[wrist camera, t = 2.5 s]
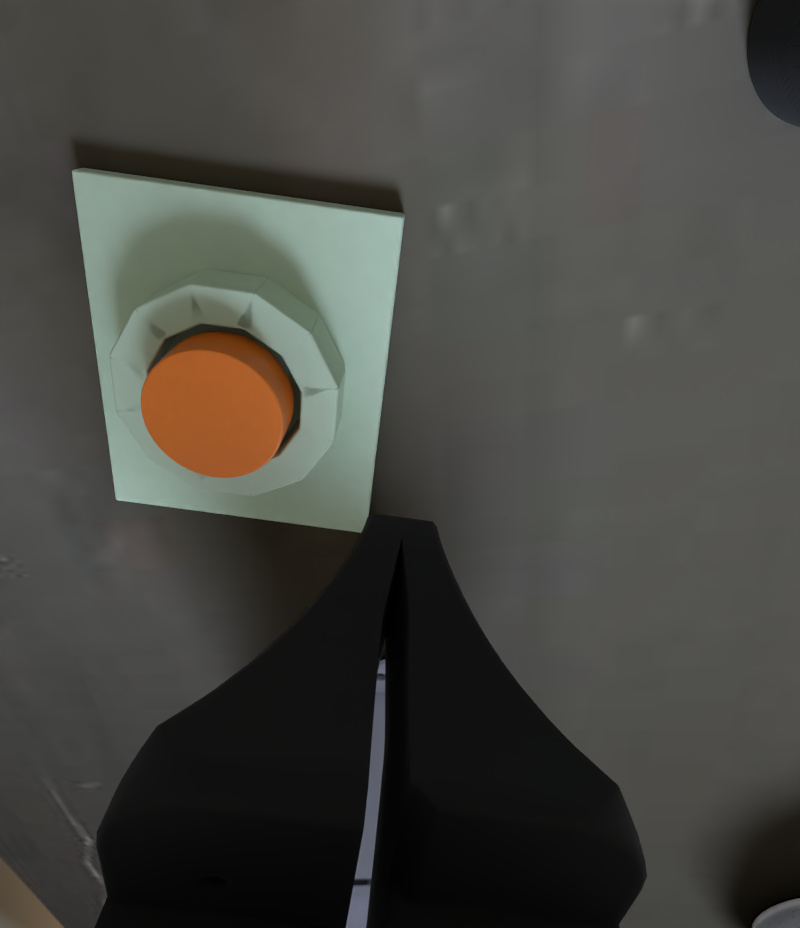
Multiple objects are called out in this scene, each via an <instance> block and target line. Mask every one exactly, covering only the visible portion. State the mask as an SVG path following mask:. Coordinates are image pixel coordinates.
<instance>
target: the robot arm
mask: <svg viewBox="0 0 800 928" xmlns="http://www.w3.org/2000/svg"><path fill="white" fill-rule="evenodd" d="M385 636H386V642H385V659H384V660H381V661H380V659H381V655H382V650H383V646H384V641H385ZM380 674H383V675H380ZM97 851H98V856H99V860H100V865H101V869H102V873H103V878H104V882H105V887H106V891H107V896H108V897H107V899H106V902H105V904H104V906H103V909H102V911H101V914H100V916H99V918H98V921H97V923H96V926H95V928H619V923H620V922H621V920H622V919H623V917H624V916H625V914H626V913H627V911H628V910H629V908H630V907H631V905H632V904H633V902H634V901H635V899H636V898H637V896H638V894H639V893H640V891H641V890H642V887H643V885H644V882H645V880H646V877H647V873H646V865H645V860H644V856H643V852H642V848H641V844H640V841H639V837H638V834H637V831H636V829H635V826H634V823H633V821H632V818H631V816H630V813H629V811H628V808H627V806H626V803H625V801H624V798H623V795H622V793H621V791H620V788H619V786H618V785H617V784H616V783H615V782H614V781H612V780H611V779H610V778H609V777H608V776H607V775H606V774H605V773H604V772H603V771H601V770H600V769H599V768H598V767H597V766H596V765H595V764H594V763H593V762H592V761H590V760H589V759H588V758H587V757H586V756H585V755H584V754H583V753H582V752H580V751H579V750H578V749H577V748H576V747H575V746H574V745H573V744H572V743H571V742H570V741H569V740H568V739H567V738H566V737H565V736H564V735H563V734H562V733H561V732H560V731H559V730H558V729H557V728H556V727H555V726H554V724H553V723H552V722H551V721H550V720H549V719H548V718H547V717H546V716H545V714H544V713H543V712H542V711H541V710H540V709H539V707H538V706H537V705H536V704H535V703H534V701H533V700H532V699H531V698H530V697H529V696H528V694H527V693H526V692H525V691H524V690H523V688H522V687H521V686H520V685H519V684H518V682H517V681H516V679H515V678H514V677H513V675H512V674H511V673H510V671H509V670H508V669H507V667H506V666H505V665H504V663H503V662H502V660H501V659H500V657H499V656H498V654H497V653H496V651H495V650H494V648H493V647H492V645H491V644H490V642H489V641H488V639H487V638H486V636H485V634H484V633H483V631H482V629H481V628H480V626H479V624H478V622H477V620H476V619H475V617H474V615H473V613H472V612H471V610H470V608H469V606H468V604H467V602H466V600H465V598H464V596H463V594H462V592H461V590H460V588H459V586H458V583H457V581H456V579H455V577H454V575H453V572H452V570H451V568H450V565H449V563H448V560H447V558H446V555H445V553H444V550H443V547H442V544H441V541H440V538H439V534H438V530H437V527H436V525H435V524H434V523H433V522H432V521H425V520H417V519H410V518H403V517H396V516H389V515H382V514H375V513H373V514H372V515H370V516H368V517H367V520H366V523H365V526H364V528H363V530H362V532H361V534H360V536H359V538H358V540H357V541H356V543H355V545H354V546H353V548H352V550H351V552H350V553H349V555H348V556H347V557H346V559H345V560H344V562H343V563H342V565H341V566H340V568H339V569H338V571H337V572H336V574H335V575H334V576H333V578H332V579H331V580H330V581H329V583H328V584H327V585H326V586H325V588H324V589H323V590H322V591H321V593H320V594H319V595H318V596H317V598H316V599H315V600H314V601H313V602H312V604H311V605H310V606H309V607H308V608H307V609H306V610H305V611H304V613H303V614H302V615H301V616H300V617H299V618H298V619H297V620H296V621H295V622H294V623H293V624H292V625H291V626H290V627H289V628H288V629H287V630H286V631H285V632H284V633H283V634H282V635H281V636H280V637H279V638H278V639H276V640H275V641H274V642H273V643H272V644H271V645H270V646H269V647H268V648H267V649H265V650H264V651H263V652H262V653H261V654H260V655H259V656H257V657H256V658H255V659H254V660H253V661H251V662H250V663H249V664H248V665H246V666H245V667H244V668H242V669H241V670H240V671H238V672H237V673H236V674H235V675H233V676H232V677H231V678H229V679H228V680H227V681H225V682H224V683H223V684H221V685H220V686H219V687H217V688H216V689H215V690H213V691H212V692H210V693H209V694H207V695H206V696H204V697H203V698H201V699H200V700H198V701H197V702H195V703H193V704H192V705H190V706H189V707H187V708H185V709H184V710H182V711H181V712H179V713H177V714H176V715H174V716H173V717H171V718H170V719H168V720H166V721H165V722H163V723H161V724H160V725H158V726H157V727H156V729H155V730H154V731H153V733H152V734H151V735H150V737H149V738H148V739H147V741H146V742H145V744H144V745H143V746H142V748H141V749H140V751H139V752H138V754H137V756H136V757H135V759H134V760H133V762H132V763H131V765H130V767H129V768H128V770H127V772H126V773H125V775H124V776H123V778H122V780H121V782H120V784H119V786H118V787H117V789H116V791H115V794H114V796H113V798H112V800H111V802H110V805H109V807H108V809H107V811H106V813H105V816H104V818H103V820H102V822H101V824H100V826H99V829H98V831H97Z"/></svg>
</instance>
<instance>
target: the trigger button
mask: <svg viewBox="0 0 800 928" xmlns="http://www.w3.org/2000/svg"><path fill="white" fill-rule="evenodd" d="M293 409H294V396H293V391H292V387H291V384H290V381H289V378H288V376H287V374H286V372H285V371H284V369H283V368H282V366H281V364H280V363H279V362H278V361H277V360H276V358H275V357H274V356H273V355H272V354H271V353H270V352H269V351H267V350H266V349H265V348H264V347H262V346H261V345H259V344H258V343H256V342H254V341H253V340H250V339H248V338H246V337H244V336H241V335H238V334H234V333H229V332H222V331H208V332H202V333H198V334H195V335H192V336H190V337H188V338H186V339H184V340H182V341H181V342H180V343H178V344H177V345H176V346H175V347H174V348H173V349H172V350H171V351H170V352H169V353H168V354H166V355H165V356H164V357H163V358H162V359H161V360H160V361H159V362H158V363H157V364H156V365H155V366H154V367H153V368H152V370H151V371H150V372H149V374H148V375H147V377H146V380H145V382H144V384H143V388H142V393H141V411H142V416H143V419H144V423H145V425H146V428H147V430H148V432H149V434H150V435H151V437H152V439H153V440H154V442H155V443H156V444H157V445H158V447H159V448H160V449H161V450H162V451H163V452H164V453H165V454H166V455H167V456H168V457H170V458H171V459H172V460H173V461H175V462H176V463H178V464H179V465H181V466H183V467H185V468H186V469H188V470H191V471H193V472H196V473H198V474H202V475H205V476H210V477H217V478H233V477H239V476H243V475H247V474H249V473H252V472H254V471H256V470H258V469H260V468H261V467H263V466H264V465H265V464H266V463H268V462H269V461H270V460H271V458H272V457H273V456H274V455H275V453H276V452H277V450H278V448H279V446H280V444H281V442H282V439H283V437H284V435H285V433H286V431H287V429H288V426H289V424H290V422H291V419H292V415H293Z"/></svg>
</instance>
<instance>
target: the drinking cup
mask: <svg viewBox="0 0 800 928" xmlns="http://www.w3.org/2000/svg"><path fill="white" fill-rule="evenodd" d="M748 65H749V71H750V76H751V80H752V83H753V86H754V88H755V91H756V93H757V95H758V96H759V98H760V100H761V101H762V103H763V104H764V105H765V106H766V107H767V108H768V110H769V111H771V112H772V113H773V114H774V115H775V116H777V117H778V118H780V119H781V120H783V121H785V122H787V123H790V124H793V125H796V126H799V127H800V0H759V1H758V4H757V6H756V9H755V12H754V15H753V19H752V23H751V28H750V33H749V41H748Z"/></svg>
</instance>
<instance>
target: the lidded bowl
mask: <svg viewBox="0 0 800 928" xmlns="http://www.w3.org/2000/svg"><path fill="white" fill-rule="evenodd" d="M752 928H800V898H797V899H793V900H789V901H786V902H783V903H780V904H777V905H775V906H773V907H770V908H769V909H767V910H765V911H764V912H762V913H761V914H760V915H759V916H758V917H757V918H756V919H755V920H754V922H753V924H752Z"/></svg>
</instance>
